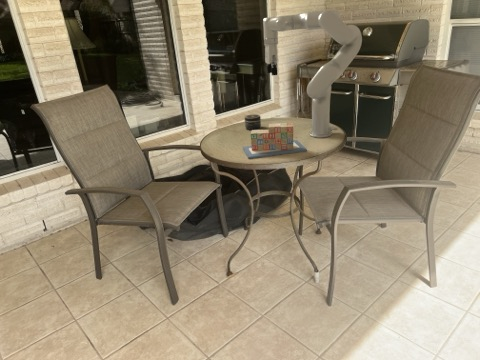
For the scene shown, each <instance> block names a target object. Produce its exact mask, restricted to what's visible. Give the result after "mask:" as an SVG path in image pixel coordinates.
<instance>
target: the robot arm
mask: <svg viewBox="0 0 480 360" xmlns="http://www.w3.org/2000/svg"><path fill="white" fill-rule="evenodd" d="M341 17H342V16H341V13H340V12H339V10H337V9H335V8H334V9H333V8H331V9H323V10H315V11H314V10H313V11H308V12H305V13H300V14H288V15H280V16H275V17H274V16H269V17H264V18H263V21H262V24H263V41H264V42H263V45H264V47H265V48H264V51H265V53H264V56H265V58H264V60H265V61H264V62H265V64H266V69H267V70H266V71H267V73H268V74H271V76H277V75H278V46H277V45H278V44H279V36H278V35H279V32H286V31H292V30H293V31H295V30H307V31H310V30H311V31H312V30H323V31H324V32H325V33H326V34H327V35H328V36H330V37H331V39H333V40H334V41H335V42H336V43H338V44H340V45H341V47H340V49H339V50H338V51H337V52H336V53H335V55H334V56H333V58H332V59H331V60H330V61H328V62H326V63H324V64H323V65H322V66H321V67H320V68H319V69H318V71H317V72H316V73H315V75H314V76H312V78H311V80H310V81H309V82H308V84H307V87H306V94H307V96H308V97H309V98H311V99H312V100H311V130H310V131H309V134H308V135H309V136H310V137H312V138H319V139H320V138H329V137H331V136H332V135H333V131H338V130H339V128H338V126H334V125H332V126H331V125H330V110H331V108H330V107H331V106H330V105H331V94H332V85H333V83H334V82H335V81H336V80H338V79H339V78H341V76H342V74H344V72H345V71H346V69H347V68H348V67H349V66H350V64H351V63H352V62H353V60H354V59H355V58H356V56H357V55H358V53H359V51H360V49H361V47H362V42H363V37H362V32H361V30H360V28H359V27H358V26H357V25H355V24H347V23H345V22H344V21H343V20H341Z"/></svg>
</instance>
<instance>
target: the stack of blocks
mask: <svg viewBox="0 0 480 360" xmlns="http://www.w3.org/2000/svg"><path fill="white" fill-rule="evenodd" d="M293 140H294V122H293V123H292V122H291V123H290V122H289V123H288V122H282V123H268V129H257V130H250V144H251V145H250V146H252V150H293Z"/></svg>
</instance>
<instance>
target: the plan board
mask: <svg viewBox="0 0 480 360" xmlns="http://www.w3.org/2000/svg"><path fill="white" fill-rule="evenodd" d="M242 150H243V152H244V153H245V155H246V157H247V159H248V160H251V159H252V160H253V159H256V158H257V159H258V158H265V156H267V157H272V155H274V156H280V154H281V155H288V153H289V154H294V153H301V152H307V150H308V148H307V147H305V146H304V145H303V144H302V143H301V142H300V141H299V140H297V139H293V150H252V145H249V146H242Z"/></svg>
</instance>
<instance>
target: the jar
mask: <svg viewBox="0 0 480 360" xmlns="http://www.w3.org/2000/svg"><path fill="white" fill-rule="evenodd" d="M261 119H262V117H261V115H259V114H247V115H245V116H244V127H245V129H246V130H247V131H252V130H260V129H261V127H262V126H261V125H262V123H261Z"/></svg>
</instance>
